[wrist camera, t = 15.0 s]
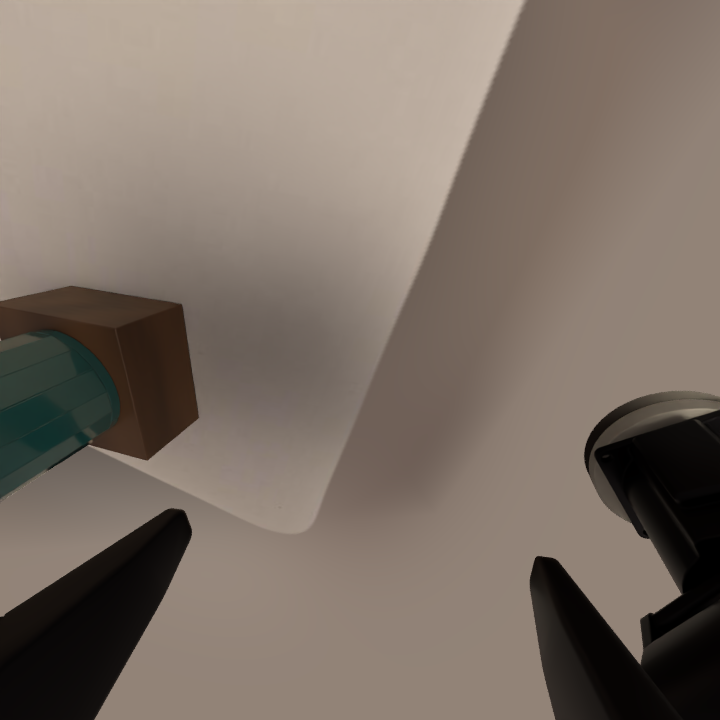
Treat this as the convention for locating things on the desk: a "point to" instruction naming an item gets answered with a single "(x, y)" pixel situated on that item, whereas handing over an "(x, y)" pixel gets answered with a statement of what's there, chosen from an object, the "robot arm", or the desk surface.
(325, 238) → the desk surface
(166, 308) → the block
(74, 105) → the desk surface
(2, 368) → the tumbler
